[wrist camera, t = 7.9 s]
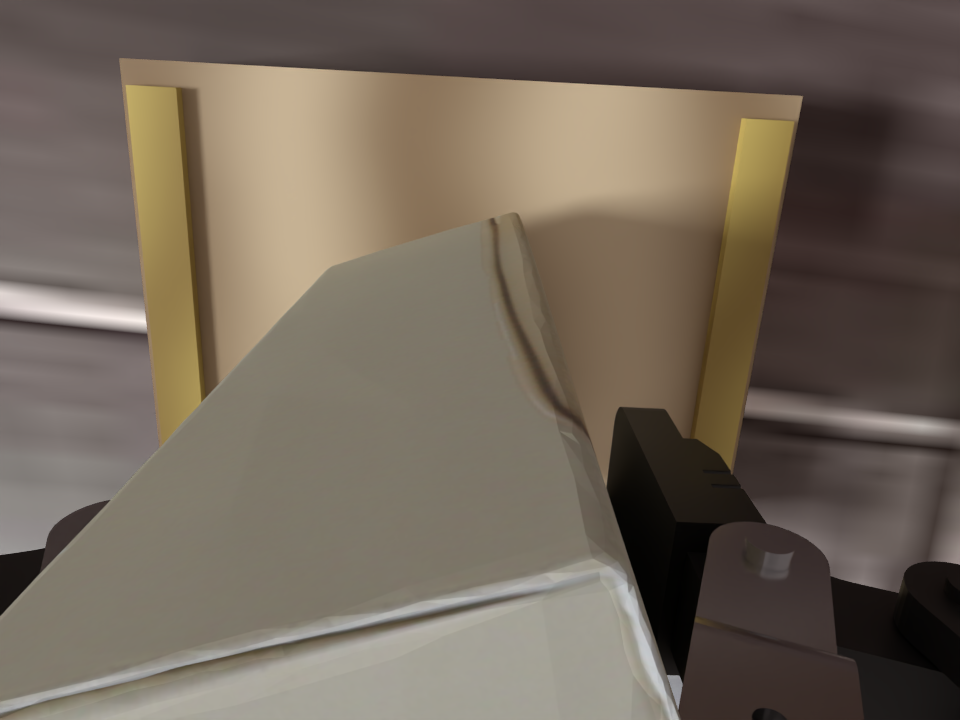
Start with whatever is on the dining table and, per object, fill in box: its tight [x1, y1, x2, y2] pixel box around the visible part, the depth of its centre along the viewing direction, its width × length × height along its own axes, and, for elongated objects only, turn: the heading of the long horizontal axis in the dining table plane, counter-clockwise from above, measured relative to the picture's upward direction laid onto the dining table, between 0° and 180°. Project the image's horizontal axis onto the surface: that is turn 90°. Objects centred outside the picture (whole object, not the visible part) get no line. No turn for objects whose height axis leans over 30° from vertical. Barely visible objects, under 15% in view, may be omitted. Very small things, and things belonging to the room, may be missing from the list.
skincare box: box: [0, 212, 681, 720], centre depth 10 cm, size 6×4×12 cm
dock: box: [119, 58, 803, 486], centre depth 18 cm, size 14×12×6 cm
